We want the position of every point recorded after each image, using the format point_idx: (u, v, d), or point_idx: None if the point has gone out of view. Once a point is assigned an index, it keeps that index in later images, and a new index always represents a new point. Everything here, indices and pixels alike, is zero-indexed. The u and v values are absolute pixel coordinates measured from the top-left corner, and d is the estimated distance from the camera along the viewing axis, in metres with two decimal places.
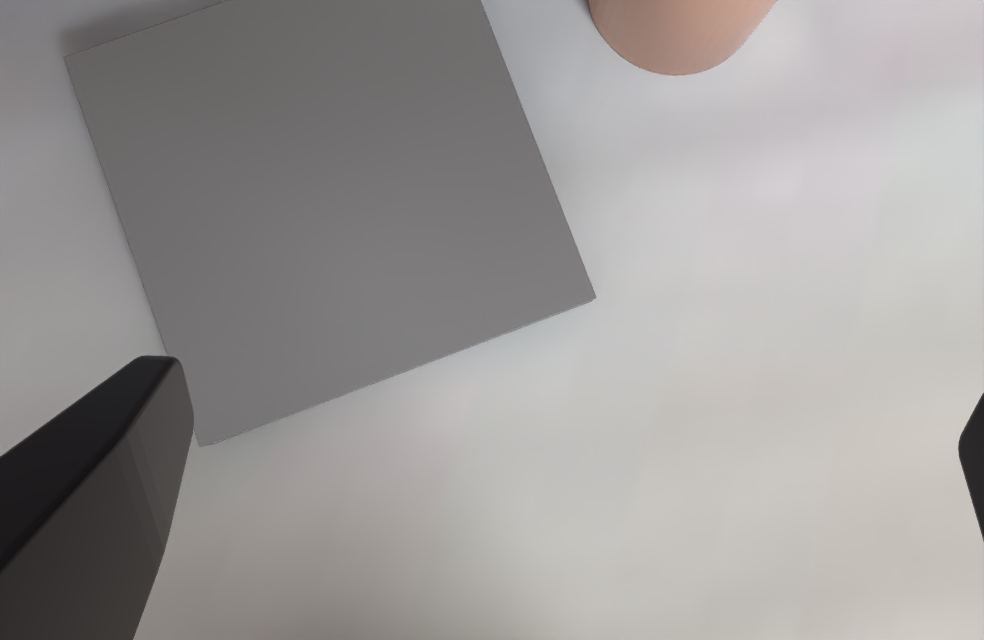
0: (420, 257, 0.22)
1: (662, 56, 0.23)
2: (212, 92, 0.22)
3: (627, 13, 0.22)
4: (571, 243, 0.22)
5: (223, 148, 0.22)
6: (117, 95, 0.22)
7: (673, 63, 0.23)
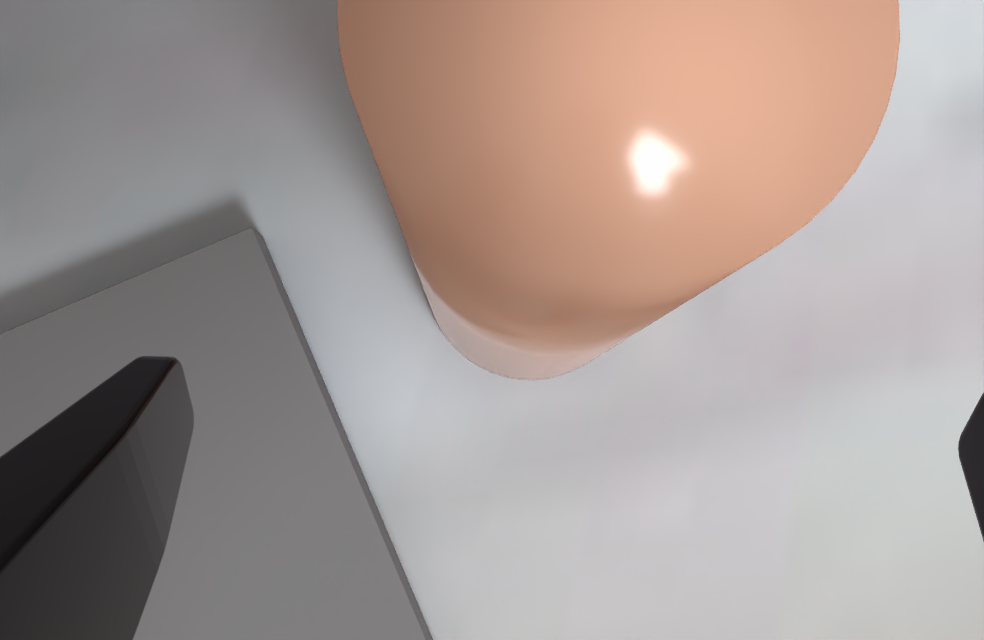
0: None
1: (512, 374, 0.19)
2: None
3: (457, 342, 0.18)
4: (411, 616, 0.18)
5: None
6: None
7: (527, 377, 0.19)
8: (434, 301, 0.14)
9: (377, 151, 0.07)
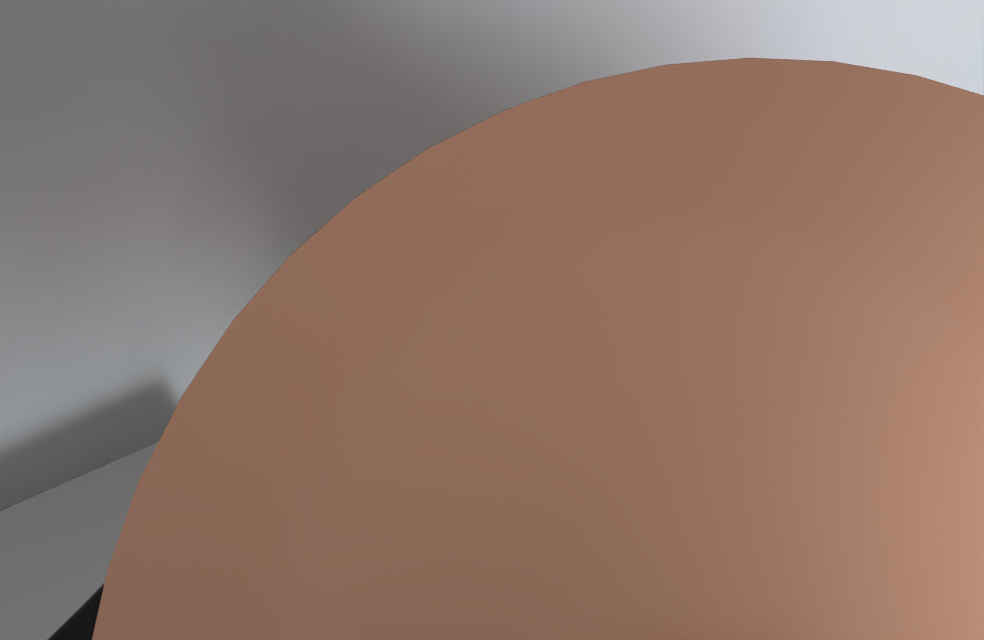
0: None
1: None
2: None
3: None
4: None
5: None
6: None
7: None
8: None
9: None
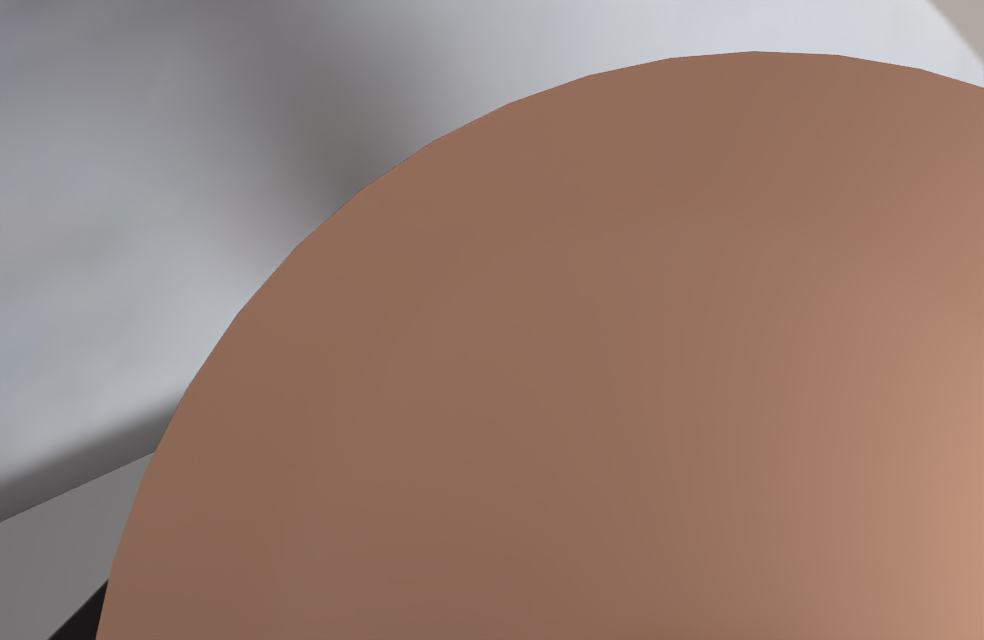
0: None
1: None
2: (97, 577, 0.21)
3: None
4: None
5: None
6: None
7: None
8: None
9: None
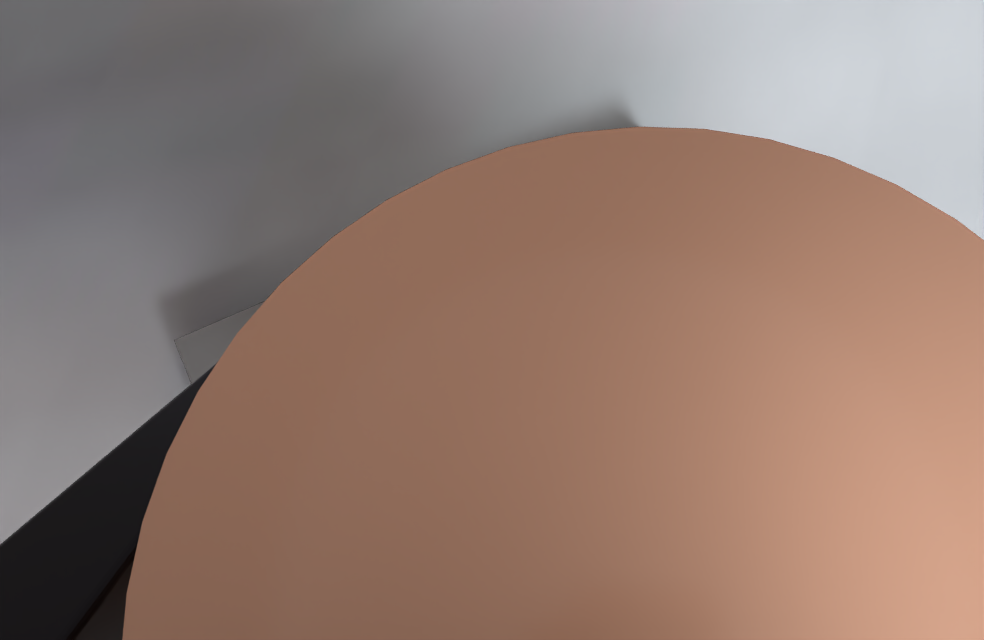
0: None
1: None
2: None
3: None
4: None
5: None
6: None
7: None
8: None
9: None
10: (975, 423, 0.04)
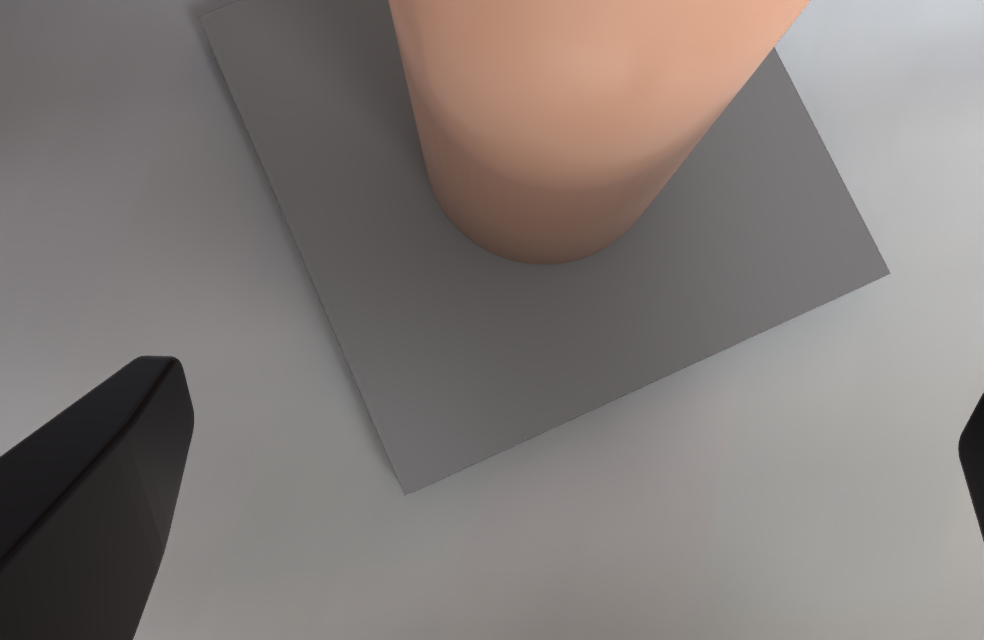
0: (663, 236, 0.18)
1: (523, 251, 0.16)
2: (386, 48, 0.18)
3: (460, 206, 0.15)
4: (851, 207, 0.18)
5: (405, 116, 0.18)
6: (268, 59, 0.18)
7: (541, 256, 0.17)
8: (431, 120, 0.12)
9: None
10: None
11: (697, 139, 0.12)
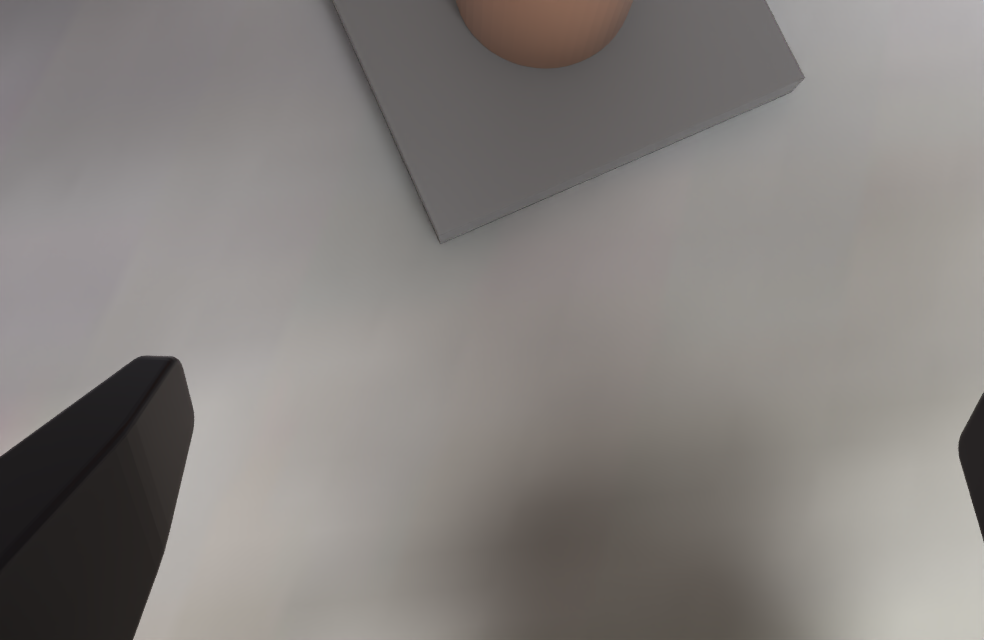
0: (633, 49, 0.23)
1: (528, 47, 0.22)
2: None
3: (484, 2, 0.21)
4: (776, 29, 0.23)
5: None
6: None
7: (541, 54, 0.22)
8: None
9: None
10: None
11: None
